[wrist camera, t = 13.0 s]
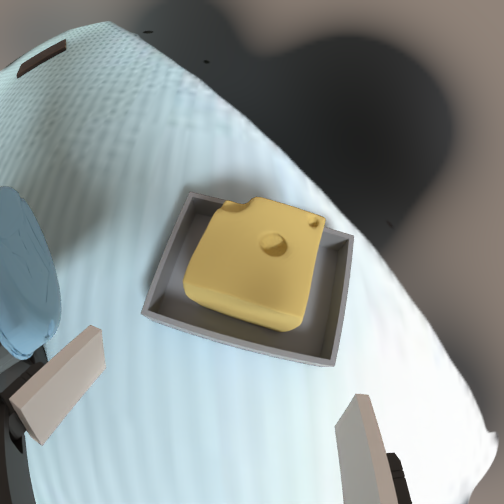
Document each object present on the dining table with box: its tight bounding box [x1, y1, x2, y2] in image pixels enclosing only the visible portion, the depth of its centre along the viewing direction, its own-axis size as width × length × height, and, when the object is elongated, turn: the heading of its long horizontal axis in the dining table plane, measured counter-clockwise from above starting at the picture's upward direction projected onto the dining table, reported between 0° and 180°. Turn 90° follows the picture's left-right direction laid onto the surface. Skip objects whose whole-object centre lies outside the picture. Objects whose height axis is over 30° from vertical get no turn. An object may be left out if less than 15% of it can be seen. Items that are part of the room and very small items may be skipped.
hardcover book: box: [17, 39, 66, 78], centre depth 61 cm, size 16×23×2 cm
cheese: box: [183, 197, 325, 332], centre depth 27 cm, size 10×11×10 cm
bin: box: [141, 192, 354, 367], centre depth 30 cm, size 20×15×4 cm
